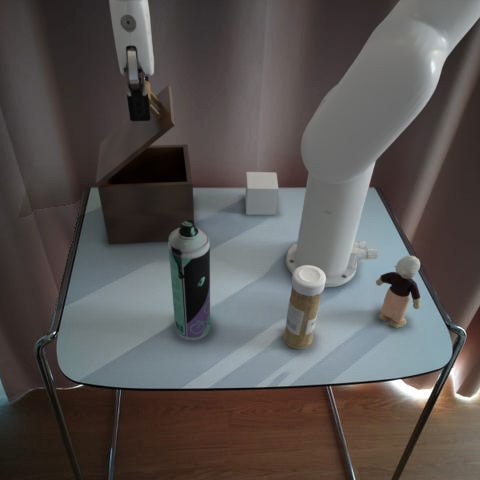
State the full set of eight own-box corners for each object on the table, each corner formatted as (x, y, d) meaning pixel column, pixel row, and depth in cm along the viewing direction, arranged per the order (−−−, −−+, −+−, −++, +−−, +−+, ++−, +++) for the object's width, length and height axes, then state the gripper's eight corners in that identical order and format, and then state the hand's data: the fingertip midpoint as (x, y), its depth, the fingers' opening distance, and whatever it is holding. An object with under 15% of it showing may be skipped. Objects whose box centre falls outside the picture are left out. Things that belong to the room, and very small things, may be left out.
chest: (190, 198, 102) (187, 144, 93) (194, 239, 93) (192, 184, 84) (111, 201, 100) (102, 146, 91) (109, 244, 91) (97, 187, 82)
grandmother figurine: (415, 320, 81) (441, 260, 71) (407, 334, 78) (433, 275, 69) (371, 301, 83) (390, 241, 74) (362, 315, 81) (381, 255, 72)
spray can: (205, 343, 76) (203, 239, 61) (171, 337, 76) (160, 232, 62) (213, 318, 79) (213, 214, 65) (181, 312, 80) (173, 208, 65)
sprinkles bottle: (315, 347, 76) (331, 283, 66) (287, 352, 75) (298, 288, 65) (306, 326, 79) (319, 261, 69) (279, 330, 78) (288, 265, 68)
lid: (171, 88, 85) (150, 62, 82) (175, 125, 76) (151, 98, 73) (103, 146, 91) (80, 124, 88) (99, 187, 82) (73, 165, 79)
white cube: (246, 214, 99) (247, 188, 95) (245, 197, 103) (246, 171, 99) (276, 215, 99) (278, 188, 95) (273, 198, 103) (276, 172, 99)
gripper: (153, -2, 62) (165, 135, 75) (152, -36, 74) (162, 88, 87) (92, -2, 61) (115, 136, 74) (101, -36, 73) (119, 89, 86)
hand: (140, 109), depth 81 cm, fingers closed on lid, 6 cm apart
